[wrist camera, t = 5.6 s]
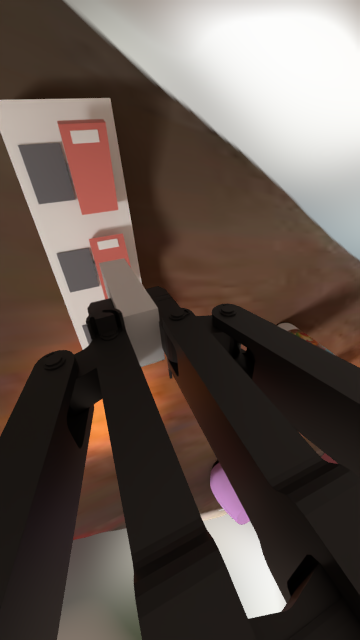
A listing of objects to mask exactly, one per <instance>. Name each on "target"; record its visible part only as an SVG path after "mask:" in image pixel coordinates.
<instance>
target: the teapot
mask: <svg viewBox="0 0 360 640" xmlns="http://www.w3.org/2000/svg"><path fill="white" fill-rule="evenodd" d="M210 485H211V489H212V492H213V494H214V496H215V497H216V499H217V500H218V502H219V504H220V505H221V506H222V507H223V509H224V510H225V511H226V512H227V513H228V514H229V515H230V516H231V517H232V518H233V519H234V520H235V521H236V522H237V523H238V524H241V525H242V524H245V523H247V522H249V521H250V520H249V518H248V516H247V514H246V512H245V510H244V508H243V506H242V504H241V503H240V501H239V499H238V497H237V495H236V493H235V491H234V489H233V487H232V486H231V484H230V482H229V480H228V478H227V476H226V474H225V472H224V470H223V469H222V467H221V465H220V463H218V464H216V465H215V466H214V467H213V468H212V470H211V477H210Z"/></svg>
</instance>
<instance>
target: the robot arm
mask: <svg viewBox="0 0 360 640" xmlns="http://www.w3.org/2000/svg"><path fill="white" fill-rule="evenodd" d="M99 265H100V269H101V273H102V277H103V281H104V285H105V289H106V292H107V296H108V299H105V300H100V301H96V302H92V303H90V305H89V307H88V308H87V309H88V314H89V316H88V317H87V318H86V324H87V327H88V330H89V333H90V336H91V339H92V341H91V343H90V344H89V346H87V347H86V348H85V349H84V350H82V351H80V352H78V353H76V354H73V353H72V352H70V351H67V350H59V351H55V352H51V353H49V354H47V355H45V356H44V357H42V358H41V359H40V360H38V362H37V363H36V364H35V366H34V368H33V370H32V372H31V374H30V376H29V378H28V380H27V382H26V384H25V386H24V388H23V390H22V393H21V395H20V397H19V399H18V401H17V403H16V405H15V407H14V409H13V411H12V413H11V415H10V418H9V420H8V422H7V424H6V426H5V428H4V430H3V432H2V434H1V436H0V640H57V635H58V628H59V622H60V616H61V610H62V604H63V598H64V592H65V585H66V578H67V573H68V567H69V560H70V554H71V548H72V542H73V536H74V530H75V523H76V517H77V511H78V505H79V499H80V492H81V486H82V480H83V474H84V468H85V461H86V455H87V449H88V443H89V437H90V430H91V424H92V418H93V412H94V404H95V403H96V402H98V401H99V400H101V399H102V398H103V404H104V409H105V415H106V420H107V425H108V431H109V436H110V442H111V447H112V452H113V458H114V463H115V469H116V474H117V479H118V485H119V490H120V496H121V501H122V506H123V512H124V517H125V523H126V528H127V533H128V538H129V544H130V549H131V555H132V561H133V568H134V590H135V599H136V605H137V612H138V618H139V624H140V630H141V636H142V640H360V368H359V367H357V366H355V365H353V364H351V363H349V362H347V361H345V360H343V359H341V358H339V357H337V356H335V355H333V354H331V353H329V352H328V351H326V350H324V349H322V348H320V347H318V346H316V345H314V344H312V343H310V342H308V341H306V340H304V339H302V338H300V337H298V336H296V335H294V334H292V333H290V332H288V331H286V330H284V329H282V328H280V327H278V326H276V325H275V324H273V323H271V322H269V321H267V320H265V319H263V318H261V317H259V316H257V315H255V314H253V313H251V312H249V311H247V310H245V309H243V308H241V307H239V306H236V305H233V304H221V305H218V306H216V307H215V308H213V310H212V315H210V316H195V315H194V313H193V312H192V311H190V310H189V309H185V308H180V307H179V305H178V304H177V303H176V302H175V301H174V299H173V298H172V297H171V296H170V295H169V293H168V292H167V291H166V290H165V289H163V288H161V287H159V286H157V287H153V288H148V289H145V288H144V287H143V285H142V284H141V282H140V281H139V279H138V278H137V276H136V275H135V273H134V272H133V270H132V269H131V267H130V266H129V265H128V263H127V262H126V260H125V259H124V258H123V259H118V260H112V261H107V262H102V263H99ZM241 344H242V345H244V346H245V347H247V350H246V351H245V350H243V349H241ZM164 352H165V354H166V356H167V361H168V369H169V376H170V379H171V378H172V374H173V376H174V378H175V380H176V382H177V383H178V385H179V387H180V389H181V391H182V393H183V395H184V397H185V399H186V400H187V402H188V404H189V406H190V408H191V410H192V412H193V414H194V416H195V417H196V419H197V421H198V423H199V425H200V427H201V429H202V431H203V433H204V434H205V436H206V438H207V440H208V442H209V444H210V446H211V448H212V450H213V452H214V453H215V455H216V457H217V459H218V461H219V463H220V465H221V467H222V469H223V470H224V472H225V474H226V476H227V478H228V480H229V482H230V484H231V486H232V487H233V489H234V491H235V493H236V495H237V497H238V499H239V501H240V503H241V504H242V506H243V508H244V510H245V512H246V514H247V516H248V518H249V520H250V521H251V523H252V525H253V527H254V529H255V531H256V533H257V535H258V538H259V540H260V544H261V548H262V552H263V555H264V557H265V560H266V562H267V565H268V567H269V569H270V571H271V573H272V575H273V577H274V579H275V581H276V583H277V585H278V587H279V589H280V591H281V593H282V595H283V597H284V599H285V601H286V603H287V604H286V606H285V607H284V609H283V610H282V612H279V613H274V614H269V615H265V616H260V617H255V618H251V619H248V618H247V616H246V613H245V611H244V608H243V606H242V604H241V601H240V599H239V597H238V594H237V592H236V589H235V587H234V584H233V582H232V580H231V577H230V575H229V572H228V570H227V567H226V565H225V563H224V560H223V558H222V556H221V554H220V552H219V549H218V547H217V545H216V543H215V541H214V539H213V538H212V537H211V535H210V534H209V532H208V531H207V529H206V527H205V525H204V523H203V521H202V518H201V516H200V513H199V511H198V508H197V506H196V503H195V501H194V498H193V496H192V493H191V491H190V488H189V486H188V483H187V481H186V478H185V476H184V473H183V471H182V468H181V466H180V463H179V461H178V458H177V456H176V453H175V451H174V449H173V446H172V444H171V441H170V439H169V436H168V434H167V431H166V429H165V426H164V424H163V421H162V419H161V416H160V414H159V411H158V409H157V406H156V404H155V401H154V399H153V396H152V394H151V391H150V389H149V386H148V384H147V381H146V379H145V376H144V374H143V371H142V369H141V367H142V366H145V365H148V364H152V363H155V362H158V361H161V360H164V359H165V358H164ZM298 432H300V433H301V434H302V435H303V436H305V437H306V438H307V439H308V440H310V441H311V442H312V443H313V444H315V445H316V446H317V447H318V448H320V449H321V450H322V451H323V452H325V453H326V454H327V455H328V456H330V457H331V458H332V459H333V460H335V461H336V462H337V463H338V464H334V463H328V462H327V461H325V460H323V459H322V458H321V457H320V456H319V455H318V454H317V453H316V452H315V451H314V450H313V448H312V447H311V446H310V445H309V444H308V443H307V442H306V440H305V439H304V438H303V437H302V436H301V435H300V434H299V433H298Z"/></svg>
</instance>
